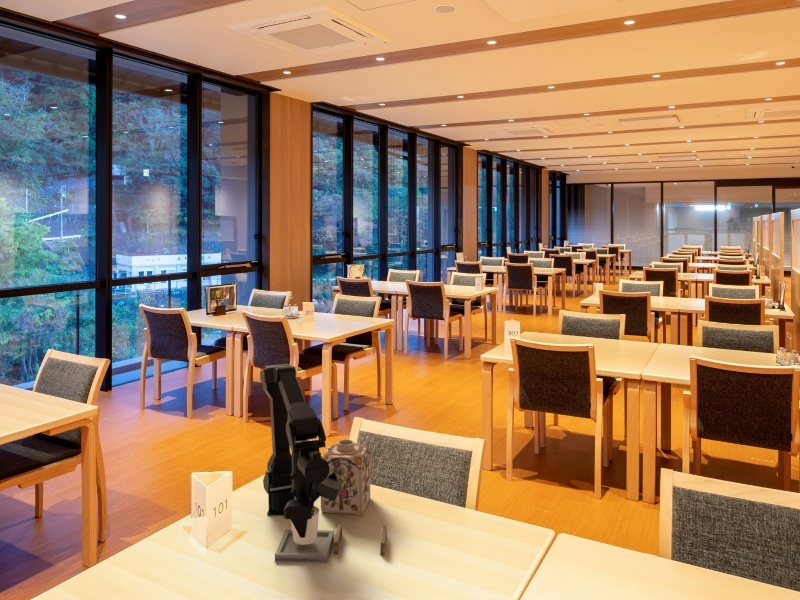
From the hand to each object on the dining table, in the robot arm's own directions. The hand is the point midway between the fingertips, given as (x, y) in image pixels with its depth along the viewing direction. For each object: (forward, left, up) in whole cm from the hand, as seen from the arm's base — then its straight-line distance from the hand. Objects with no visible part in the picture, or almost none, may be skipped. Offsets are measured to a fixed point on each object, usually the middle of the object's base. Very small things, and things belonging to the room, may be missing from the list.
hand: (305, 530), depth 154 cm
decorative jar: (+7, +24, -5) cm, 25 cm away
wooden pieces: (+13, +2, -4) cm, 14 cm away
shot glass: (0, 0, -2) cm, 2 cm away
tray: (0, 0, -4) cm, 4 cm away
